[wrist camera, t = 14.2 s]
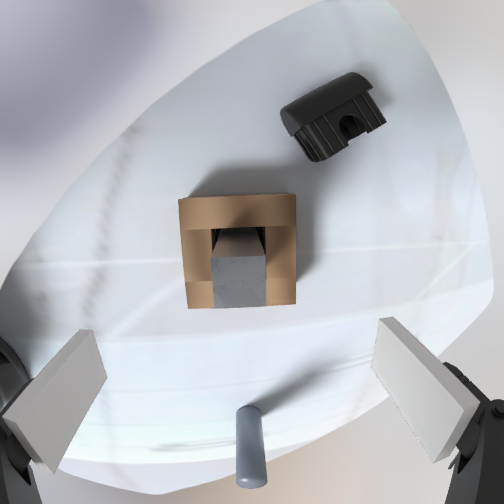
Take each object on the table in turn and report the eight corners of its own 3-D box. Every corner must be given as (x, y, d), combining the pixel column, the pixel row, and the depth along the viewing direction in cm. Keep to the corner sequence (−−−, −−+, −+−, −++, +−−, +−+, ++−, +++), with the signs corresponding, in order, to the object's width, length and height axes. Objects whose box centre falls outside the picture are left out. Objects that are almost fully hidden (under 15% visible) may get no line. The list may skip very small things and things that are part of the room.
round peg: (237, 422, 42) (237, 489, 28) (235, 406, 41) (235, 475, 27) (261, 421, 42) (267, 487, 28) (260, 405, 41) (267, 474, 27)
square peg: (223, 261, 35) (214, 308, 22) (221, 228, 34) (210, 257, 21) (256, 259, 36) (266, 306, 22) (255, 227, 35) (265, 255, 21)
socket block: (194, 292, 36) (188, 308, 31) (187, 197, 33) (178, 199, 29) (288, 288, 37) (295, 304, 32) (287, 193, 34) (295, 194, 29)
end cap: (338, 82, 31) (357, 64, 24) (369, 127, 32) (394, 118, 26) (275, 117, 32) (283, 102, 25) (308, 165, 33) (324, 161, 27)
